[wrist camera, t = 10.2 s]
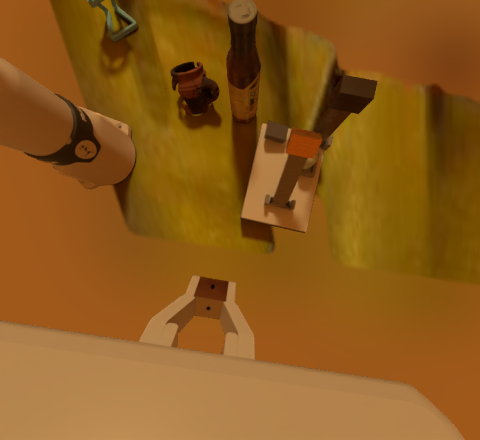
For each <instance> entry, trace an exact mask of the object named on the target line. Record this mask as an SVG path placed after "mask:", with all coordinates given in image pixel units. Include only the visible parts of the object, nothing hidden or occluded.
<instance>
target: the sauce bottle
mask: <svg viewBox="0 0 480 440" xmlns="http://www.w3.org/2000/svg"><path fill="white" fill-rule="evenodd" d="M228 21H229V26H230V31H231V48H230V50H229V52H228V55H227V59H226V60H227V63H226V65H227V72H228V73H227V78H228V86H229V95H230V103H231V110H232V114H233V116H234V118H235V120H237V121H238V122H240V123H248V122H250V121H251V120H252V119H253V118H254V116H255V114H256V111H257V104H258V93H259V81H260V70H261V63H260V59H259V56H258V52H257V48H256V45H255V43H256V41H255V29H256V24H257V7H256V5H255V3H254V2H253V1H252V0H234V1H233V2H232V3H231V4H230V6H229V8H228Z"/></svg>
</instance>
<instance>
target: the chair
mask: <svg viewBox="0 0 480 440" xmlns="http://www.w3.org/2000/svg"><path fill="white" fill-rule="evenodd" d="M102 1H104V0H88V2H89V4H90V5H91V7H92V8H95V7H96V6H98V7H100V8H101V9H102V10H103V11H104V12H105V15H106V20H107V25H108V31H109V36H110V38H111V40H112V41H113V42H116V41H118V40H119V39H121V38H123V37H124V36H126V35H127V34H129V33H131V32H132V31H134V30H135V29H137V28H138V25H137V23H136V21H135V20H134V19H133V18H131V17H130V16H129V15H128V14H126V13H125V12H124V11H123V10H122V9H120V8H119V7H118V6H117V5H116V2H115V0H111V2H112V6H113V7H114V9H115V10H116V12H117V13H119V14H120V15H121V16H122V17H124V18H125V19H126V20H128V21H129V22H130V23H132V24H131V25H129V26H128V27H126V28H124V29H123V30H121V31H119V32H118V33H116V34H114V32H113V25H112V18H111V15H110V12H109V11H108V9H107V8H106V7H105V6H103V5H102V4H101V2H102Z"/></svg>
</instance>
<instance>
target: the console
mask: <svg viewBox="0 0 480 440" xmlns="http://www.w3.org/2000/svg"><path fill="white" fill-rule="evenodd" d="M266 127H267V124H264V123H263V124H262V126H261V130H260V134H259V139H258V143H257V147H256V152H255V156H254V160H253V165H252V169H251V174H250V178H249V182H248V187H247V191H246V195H245V200H244V204H243V209H242V213H241V217H240V218H241V219H245V220H249V221H253V222H258V223H262V224H267V225H271V226H275V227H280V228H284V229H289V230H293V231H298V232H303V233H305V232H307V228H308V224H309V219H310V214H311V209H312V205H313V201H314V196H315V192H316V187H317V182H318V178H319V173H320V169H321V164H322V159H323V155H324V150H327V149H328V148H329V147H330V146H331V143H332V139H333V137H331V136H329V137H328V138H327V140H326V142H325V145H324V147H323V148H320V147H319V148H318V150H317V154H318V160H317V162H316V163H315V164H314V165H313V166H312V167H310V168H309V169H308V170H302V172H301V174H300V176H299V179H298V181H297V183H296V185H295V187H294V190H293V192H292V194H291V196H290V198H289V200H290V204H289V207H288V209H286V208H282V207H277V206H273V205H269V201H270V197H273V196H274V194H275V191H276V188H277V185H278V182H279V179H280V177H281V174H282V171H283V168H284V165H285V162H286V159H287V157H288V154H286V145H287V142H288V139H289V136H290V133H291V130H292V129H289V128H288V133H287V137H286V141H285V142H284V143H283V144H282V143H279V142H276V141H272V140H269V139H266V138H264V135H265V131H266Z"/></svg>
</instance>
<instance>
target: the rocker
mask: <svg viewBox="0 0 480 440" xmlns="http://www.w3.org/2000/svg"><path fill="white" fill-rule="evenodd" d="M288 128H289V127H288V126H285V125H282V124H279V123H275V122H272V121H269V122H268V124H267V127H266V131H265V135H264V138H266V139H269V140H272V141H276V142H279V143H282V144H283V143H284V142H285V141H286V137H287V133H288Z"/></svg>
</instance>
